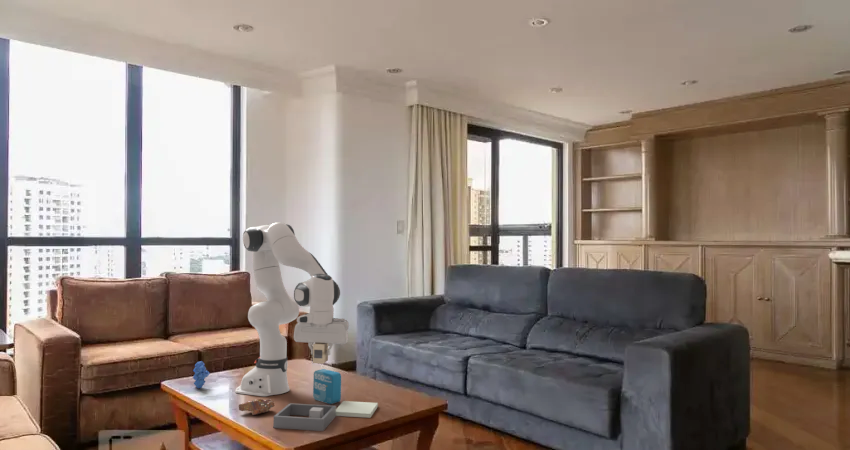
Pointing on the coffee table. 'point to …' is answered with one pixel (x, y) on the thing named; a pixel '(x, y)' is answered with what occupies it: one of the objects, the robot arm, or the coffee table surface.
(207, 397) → the coffee table surface
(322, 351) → the birch box
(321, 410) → the grey box
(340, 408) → the board
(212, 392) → the coffee table surface
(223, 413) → the coffee table surface
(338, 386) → the data package
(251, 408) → the mineral specimen
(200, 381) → the grapes
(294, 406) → the bin
